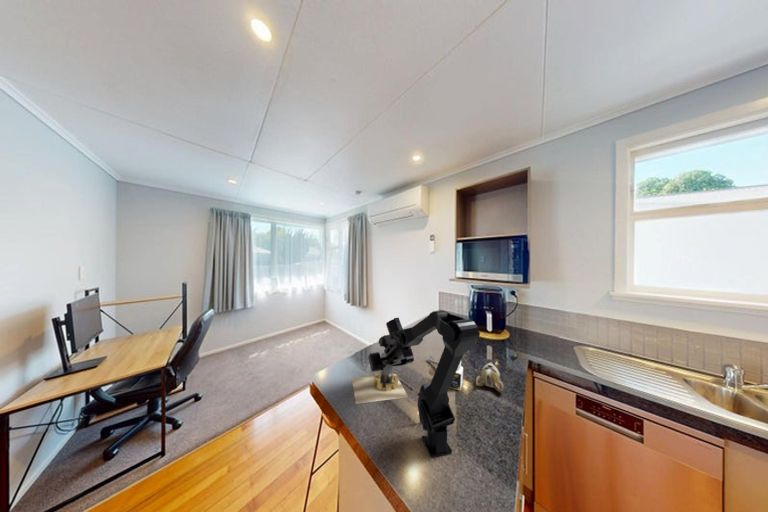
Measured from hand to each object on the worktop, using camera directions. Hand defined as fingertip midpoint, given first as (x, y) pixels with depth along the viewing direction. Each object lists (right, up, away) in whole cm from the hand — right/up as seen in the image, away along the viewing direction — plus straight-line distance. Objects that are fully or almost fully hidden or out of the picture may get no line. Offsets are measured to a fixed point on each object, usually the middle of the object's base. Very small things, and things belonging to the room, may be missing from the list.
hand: (384, 366), depth 89 cm
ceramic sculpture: (+46, -10, +2) cm, 47 cm away
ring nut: (0, -7, -1) cm, 7 cm away
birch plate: (-3, -8, -4) cm, 9 cm away
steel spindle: (0, -6, -2) cm, 7 cm away
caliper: (+27, -9, +14) cm, 32 cm away
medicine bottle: (+30, -9, +2) cm, 31 cm away
